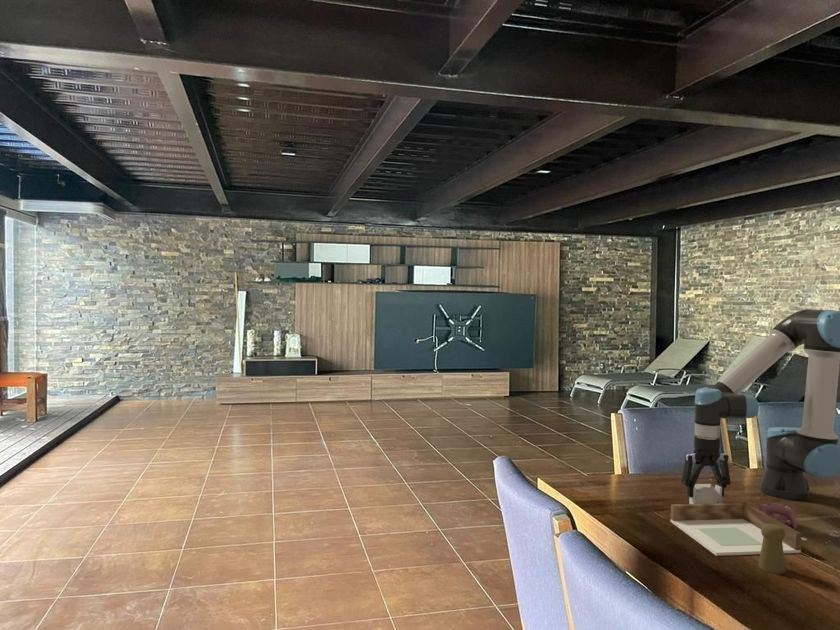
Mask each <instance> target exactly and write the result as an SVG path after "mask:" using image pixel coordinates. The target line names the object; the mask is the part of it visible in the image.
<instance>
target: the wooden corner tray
mask: <svg viewBox="0 0 840 630" xmlns="http://www.w3.org/2000/svg"><path fill="white" fill-rule="evenodd" d="M670 523H672V524H673V525H674V526H676V527H677V528H678V529H679V530H681V531H683V532H684V533H685V534H686V535H687V536H689V537H690V538H692V539H693V540H695V541H696V542H697V543H699V544H700V545H701V546H703V547H704V548H705V549H707V550H708V551H709V552H710V553H712V554H714V556H716V557H717V556H743V555H745V556H747V555H748V556H750V555H752V556H753V555H760V553H761V548H762V542H763V535H762V533H761V528H762V526H763V525H764V524H775V525H778V526H780V527H782V528H783V529H784V532H785V537H784V539H783V540H782V544H783V552H784V554H799V553H802V533H801V532H800V531H798V530H796V529H795V528H793V527H791V526H789V525H787V524H786V523H785V524H783V523H782V522H780V521H778V520H777V518H775V519H774V518H772V517H771V516H769V515H767V514H765V513H763V512H762V511H760V510H759V508H758V509H757V508H756V507H754V506H752V505H751V504H750V503H749V504H748V503H747V502H722V503H711V504H689V503H682V504H680V503H679V504H677V503H676V504H675V503H674V504H670Z"/></svg>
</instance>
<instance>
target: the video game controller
mask: <svg viewBox="0 0 840 630" xmlns="http://www.w3.org/2000/svg"><path fill="white" fill-rule="evenodd" d="M758 510H760V511H762V512H763V513H765V514H767V515H769V516H771V517H772V518H774V519H776V517H775V515H774V514H776V515H779V516H778V518H777V519H778V521H780V522H782V523H783V524H785V525H786V524H787V523H788V522H790V525H791V526H792V529H797V527H798V521H797V517H796V513H795V512H794V510H793V509H792V508H791V507H790V506H789V505H785V504H782V503H774V502H773V503H772V502H770V503H764V504H762V505H760V506H759V507H758Z"/></svg>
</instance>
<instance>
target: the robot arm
mask: <svg viewBox="0 0 840 630" xmlns="http://www.w3.org/2000/svg"><path fill="white" fill-rule="evenodd" d="M799 346H803V351H804V352H805V353H807V354H808V358H807V359H808V361H807V370H806V371H807V372H806V381H805V382H806V383H805V392H804V393H805V394H804V401H803V403H804V404H803V412H802V422H801V427H791V426H773V427H769V428H768V430H767V432H766V437H765V438H766V454H765V455H766V456H765V457H766V461H765V462H766V465H765V471H764V473H763V475H762V478H761V481H760V483H759V490H760V491H761V492H762V493H764V494H766V495H768V496H771V497H776V498H780V499H786V500H796V501H797V500H798V501H799V500H801V501H802V500H807V499H809V498H811V489H810V485H809V483H808V479H807V476H806V474H807V475H809V476H811V477H816V478H819V479H830V478H833V477H835V476H836V475H837V474H839V473H840V446H839V435H837V434H836V433H835V432H834V428H835V427H834V426H835V417H836V407H837V406H836V404H837V397H838V395H837V394H838V387H839V386H838V385H839V374H840V310H834V309H811V308H808V309H807V308H806V309H802V310H801V309H800V310H798V311H796V312H794V313H791V314H790V315H788V316H787V317H785V318H784V319H782V320H781V321H780V322H779V323H778V324H776V325H775V326H774V327H773V328H772V329H771V330H770V331H769V335H768V337H766V338H765V339H764V340H763V341H762V342H761V343H760V344H758V345H757V346H756V347H755V348H754V349H752V351H751V352H749V354H747V355H746V356H745V357H744V358H743V359H741V360H740V361H739V362H738V363H736V365H735V366H733V367H732V368H731V369H730V370H729V371H728V372H727V373H726V374H725V375H723V376H722V377H721V378H720V379H719V380H718V381H717V382H716V383H714V384H713V385H711V386H705V387H699V388H698V389H697V390H696V391H695V398H694V432H693V433H694V435H695V436H694V438H693V439H694V440H693V446H694V451H693V453H690V454H688V453H685V454H684V467H683V472H682V477H681V484H683V485H684V486H685V487H687V497H688V498H689V499H688V501H689V503H688V504H696V498H695V496H696V488H695V487H694V486H695V484H697V482H698V481H697V480H698V478H699V477H700V474H701V472H702V470H703V469H704V468H705V467H708V466H709V467H710V469H711V471H712V473H713V476H714V479H715V481H716V483H717V484H714V488H715V489H716V491H717V492H718V493H719V494H720V495H721V499H720V501H719V503H723V502H722V501H723V497H724V496H725V489H726V488H727V487H728V486H730V485H731V477H730V470H729V463H728V462H729V455H728V454H726V453H723V452H720V449H721V438H720V437H721V422H722V421H721V419H722V420H723V419H744V420H746V419H754V418H755V417H757V416H758V413H759V409H760V408H759V401H758V400H757V398H756V396H753V395H751V394H750V395H749V394H741V393H742V392H743V391H744V390H746V389H747V388H748V387H749V386H750V385H752V383H753V382H754V381H755V380H757V379H758V378H759V377H760V376H761V375H762V374H764V373H765V372H766V371H767V370H768V369H769V368H770V367H772V365H774V364H775V363H777V361H778V360H780V359H781V358H783V356H784V355H785V354H786V353H787V352H793V351H795V350H796V349H797V348H798V347H799ZM694 459H695V460H694ZM718 460H719V464H720V465H719V464H718ZM693 462H694V463H693ZM719 466H720V467H719ZM805 473H806V474H805Z"/></svg>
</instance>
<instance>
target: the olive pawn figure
mask: <svg viewBox="0 0 840 630" xmlns="http://www.w3.org/2000/svg"><path fill="white" fill-rule="evenodd" d="M761 533H762V535H763V542H762V548H761V553H760V554H759V558H758V559H759V560H758V565H757V566H758V568H759V569H761V570H762V571H765V572H767V573H771V574H785V573H786V562H785V553H784V552H783V544H782V540H783V539H784V537H785V532H784V529H783V528H782V527H780V526H778V525H775V524H764V525H763V526H762V528H761Z"/></svg>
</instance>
